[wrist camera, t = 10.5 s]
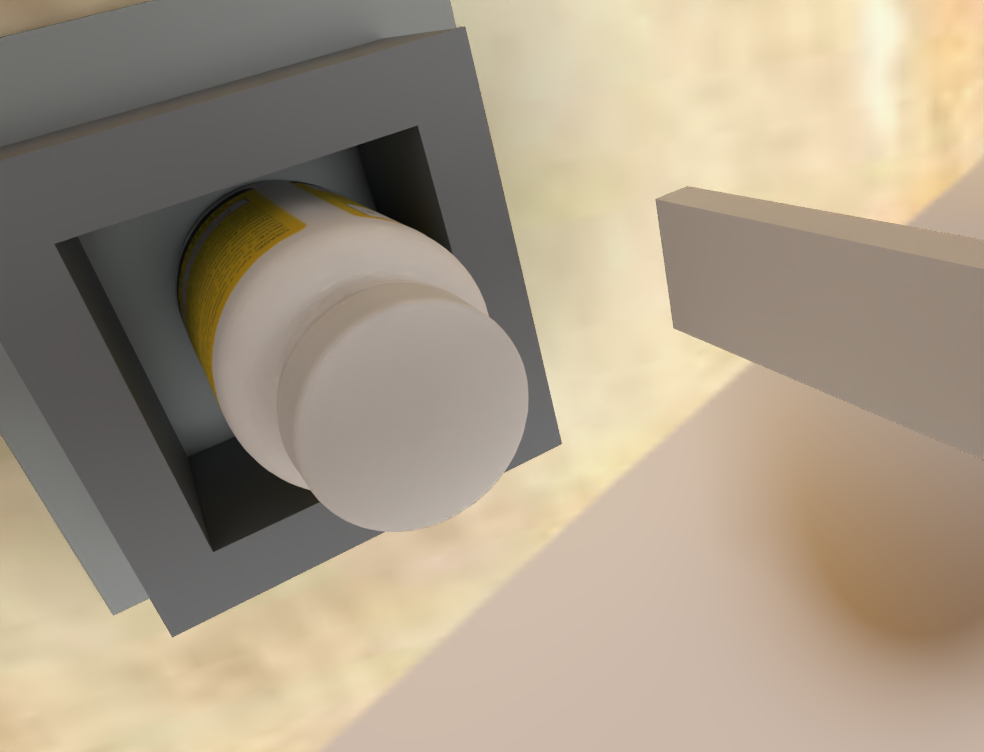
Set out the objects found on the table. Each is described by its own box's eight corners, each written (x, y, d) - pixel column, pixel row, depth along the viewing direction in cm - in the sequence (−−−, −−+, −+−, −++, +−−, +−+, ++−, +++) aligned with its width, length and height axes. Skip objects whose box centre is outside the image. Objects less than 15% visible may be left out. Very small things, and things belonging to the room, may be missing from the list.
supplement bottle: (196, 400, 20) (271, 616, 12) (152, 190, 18) (207, 279, 10) (392, 359, 22) (569, 519, 14) (371, 167, 20) (565, 224, 12)
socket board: (-190, 88, 16) (-331, 92, 11) (412, -59, 21) (530, -110, 15) (111, 585, 23) (119, 747, 17) (524, 393, 27) (636, 473, 21)
